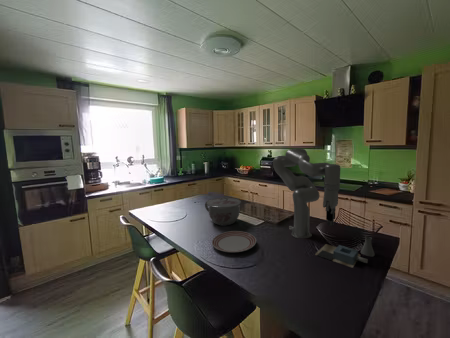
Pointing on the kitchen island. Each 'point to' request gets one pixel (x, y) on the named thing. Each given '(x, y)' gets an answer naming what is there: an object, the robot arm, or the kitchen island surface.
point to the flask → (367, 247)
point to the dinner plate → (234, 241)
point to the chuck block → (347, 255)
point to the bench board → (330, 249)
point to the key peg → (333, 218)
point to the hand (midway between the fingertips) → (330, 219)
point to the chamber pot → (223, 210)
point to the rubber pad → (326, 255)
